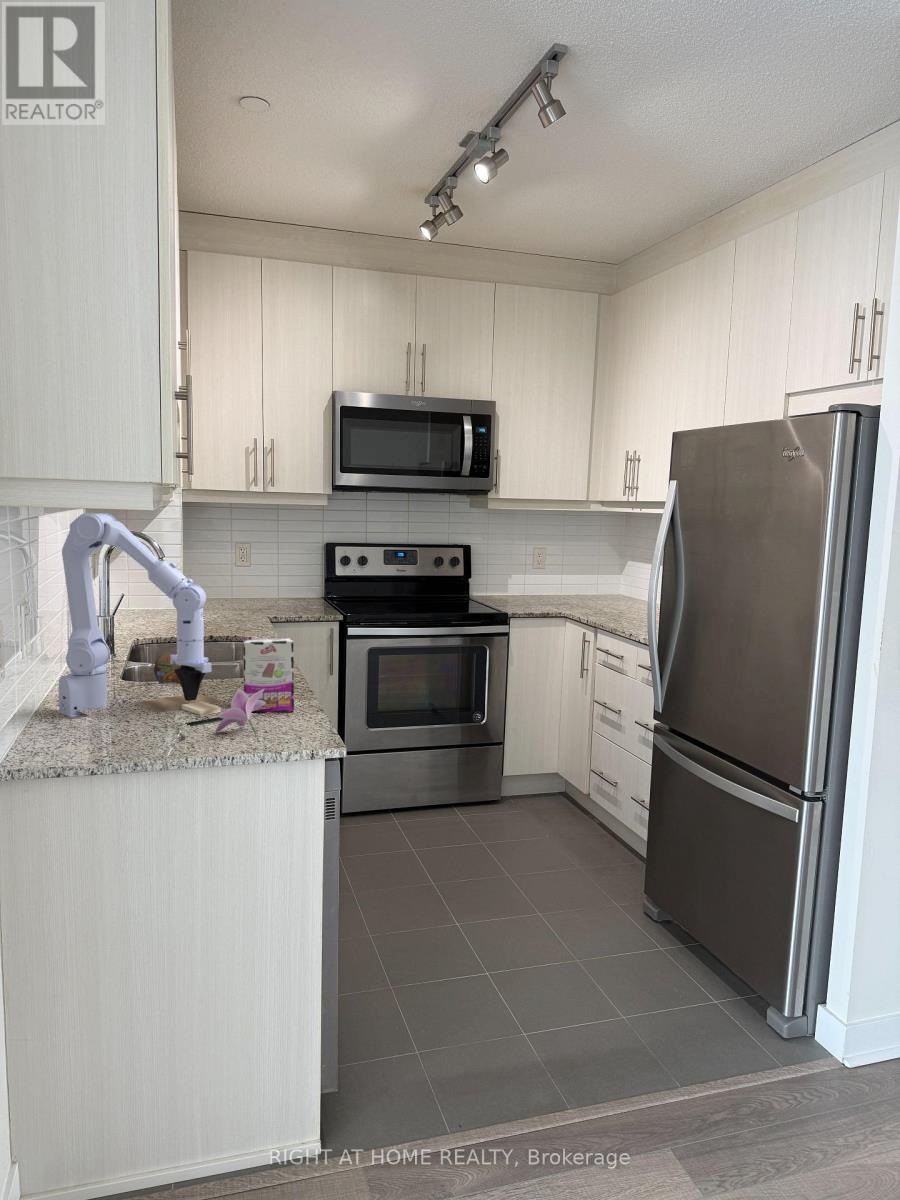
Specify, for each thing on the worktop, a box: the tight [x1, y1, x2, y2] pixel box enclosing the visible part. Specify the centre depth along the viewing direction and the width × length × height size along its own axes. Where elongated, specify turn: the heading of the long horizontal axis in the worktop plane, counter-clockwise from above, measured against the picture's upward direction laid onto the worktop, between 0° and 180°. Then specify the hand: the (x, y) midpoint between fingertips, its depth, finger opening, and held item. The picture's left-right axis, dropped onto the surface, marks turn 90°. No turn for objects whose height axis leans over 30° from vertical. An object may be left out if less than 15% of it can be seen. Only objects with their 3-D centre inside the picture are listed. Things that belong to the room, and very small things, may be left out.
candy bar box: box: [242, 637, 295, 714], centre depth 189 cm, size 11×5×16 cm, turn 105°
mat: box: [184, 716, 224, 727], centre depth 182 cm, size 12×11×1 cm
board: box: [133, 692, 225, 713], centre depth 190 cm, size 16×12×2 cm
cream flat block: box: [181, 702, 222, 716], centre depth 183 cm, size 5×8×2 cm, turn 46°
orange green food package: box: [153, 653, 203, 684], centre depth 213 cm, size 15×3×8 cm, turn 62°
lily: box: [214, 689, 266, 736], centre depth 170 cm, size 12×12×10 cm
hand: (190, 699), depth 186 cm, fingers closed
